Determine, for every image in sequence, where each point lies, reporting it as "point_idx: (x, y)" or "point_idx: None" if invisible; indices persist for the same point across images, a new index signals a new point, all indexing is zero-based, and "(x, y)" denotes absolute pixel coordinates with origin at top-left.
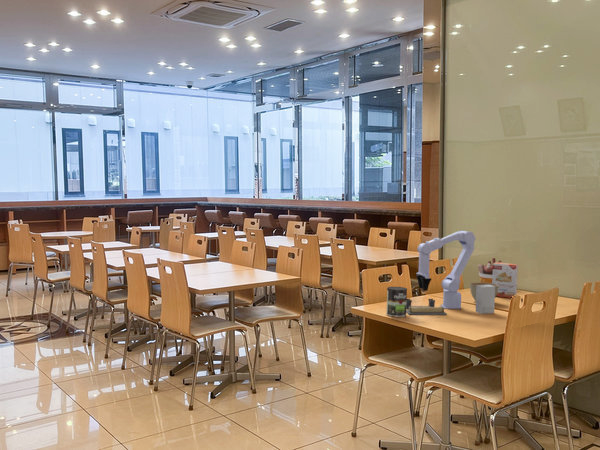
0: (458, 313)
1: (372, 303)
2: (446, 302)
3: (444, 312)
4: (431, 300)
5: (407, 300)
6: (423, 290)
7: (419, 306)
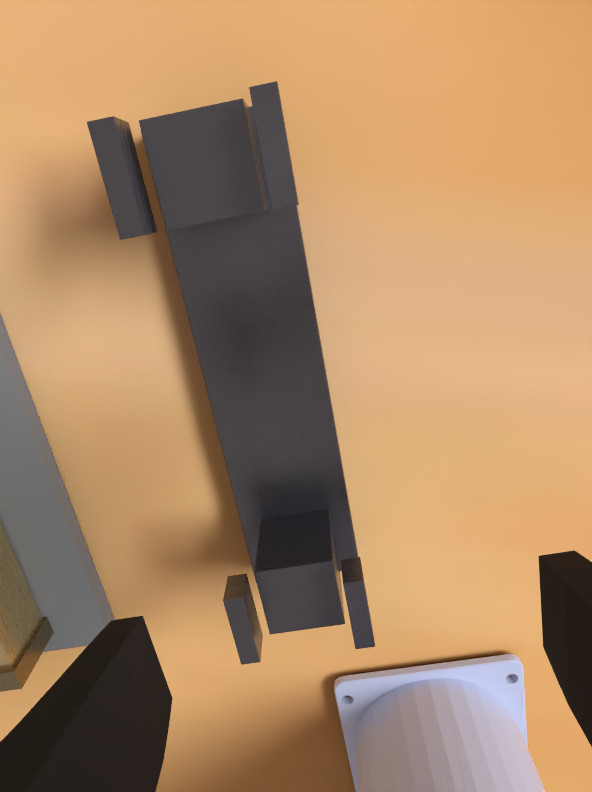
0: None
1: None
2: (381, 762)
3: None
4: (227, 611)
5: (90, 129)
6: (107, 624)
7: (293, 375)
